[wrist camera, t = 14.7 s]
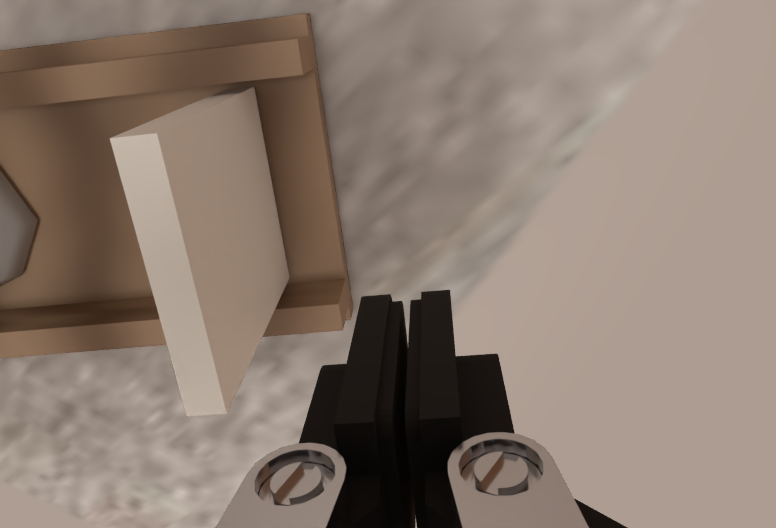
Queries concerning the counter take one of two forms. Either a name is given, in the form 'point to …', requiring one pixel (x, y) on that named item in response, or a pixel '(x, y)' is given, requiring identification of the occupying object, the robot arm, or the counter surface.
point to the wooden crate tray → (106, 193)
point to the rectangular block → (206, 238)
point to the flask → (13, 232)
